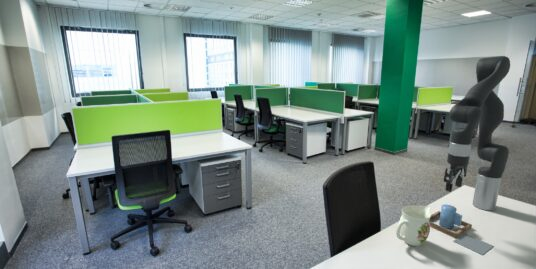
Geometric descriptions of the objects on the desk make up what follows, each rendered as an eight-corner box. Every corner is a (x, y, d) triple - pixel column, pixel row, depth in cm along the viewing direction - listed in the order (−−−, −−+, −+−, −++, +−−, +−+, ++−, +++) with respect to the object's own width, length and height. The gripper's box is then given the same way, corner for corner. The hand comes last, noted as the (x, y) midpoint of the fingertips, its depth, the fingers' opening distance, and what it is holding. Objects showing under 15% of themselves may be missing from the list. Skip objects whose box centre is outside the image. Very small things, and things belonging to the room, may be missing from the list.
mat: (465, 233, 114) (465, 233, 114) (493, 246, 106) (493, 245, 105) (453, 241, 109) (453, 240, 109) (482, 255, 101) (482, 254, 100)
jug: (436, 224, 121) (439, 206, 119) (442, 221, 124) (445, 203, 122) (456, 233, 114) (459, 214, 112) (462, 229, 117) (465, 210, 115)
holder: (438, 214, 130) (438, 211, 129) (471, 228, 118) (472, 224, 117) (421, 222, 122) (422, 219, 122) (455, 238, 111) (456, 234, 110)
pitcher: (383, 240, 110) (387, 210, 107) (413, 229, 117) (416, 200, 114) (407, 256, 100) (411, 223, 97) (437, 243, 108) (442, 212, 105)
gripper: (457, 148, 119) (452, 182, 122) (440, 153, 112) (435, 189, 115) (477, 152, 112) (470, 188, 116) (460, 158, 105) (454, 196, 109)
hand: (453, 188), depth 116 cm, fingers open, 8 cm apart
